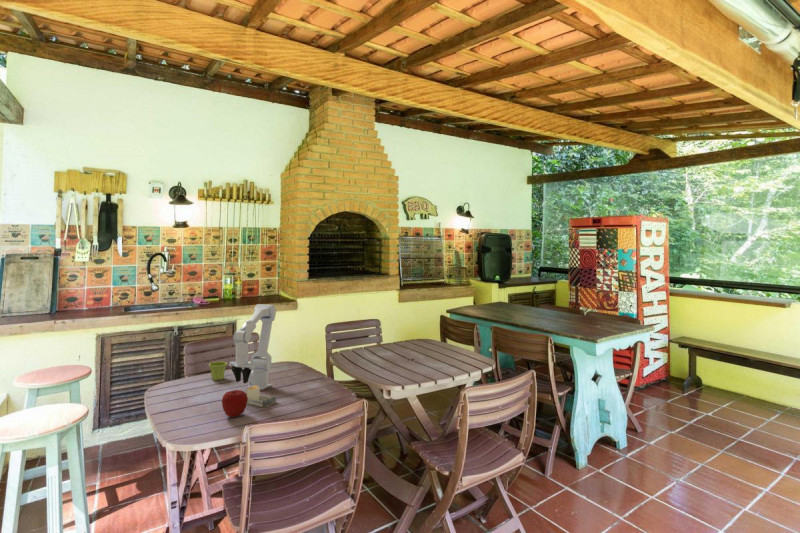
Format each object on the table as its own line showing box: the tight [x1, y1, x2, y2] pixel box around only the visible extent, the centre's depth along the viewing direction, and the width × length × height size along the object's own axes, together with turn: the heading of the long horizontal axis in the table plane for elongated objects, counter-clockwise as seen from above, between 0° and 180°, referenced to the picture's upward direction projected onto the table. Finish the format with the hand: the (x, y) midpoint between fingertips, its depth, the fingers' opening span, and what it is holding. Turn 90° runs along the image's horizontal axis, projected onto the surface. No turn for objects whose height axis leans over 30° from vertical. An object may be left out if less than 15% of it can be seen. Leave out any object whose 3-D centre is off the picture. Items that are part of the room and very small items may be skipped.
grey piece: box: [247, 394, 277, 409], centre depth 201 cm, size 15×8×3 cm, turn 66°
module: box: [246, 386, 261, 400], centre depth 202 cm, size 4×4×6 cm
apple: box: [221, 389, 248, 418], centre depth 184 cm, size 11×11×12 cm
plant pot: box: [208, 361, 228, 381], centre depth 235 cm, size 9×9×9 cm
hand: (242, 382), depth 205 cm, fingers open, 4 cm apart
